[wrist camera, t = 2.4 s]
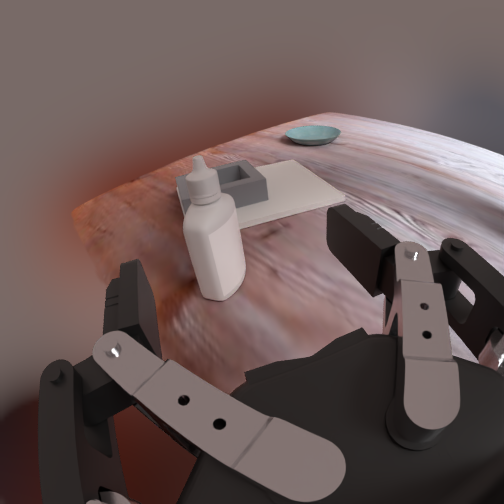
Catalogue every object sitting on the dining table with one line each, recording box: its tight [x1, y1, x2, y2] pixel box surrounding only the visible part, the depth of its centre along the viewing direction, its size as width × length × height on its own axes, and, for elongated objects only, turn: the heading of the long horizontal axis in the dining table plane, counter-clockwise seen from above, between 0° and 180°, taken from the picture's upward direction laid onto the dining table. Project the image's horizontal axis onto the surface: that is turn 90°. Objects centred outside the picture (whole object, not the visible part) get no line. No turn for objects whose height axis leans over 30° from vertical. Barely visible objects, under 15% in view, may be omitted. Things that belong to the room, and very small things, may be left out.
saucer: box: [285, 126, 341, 146], centre depth 60 cm, size 12×12×2 cm
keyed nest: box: [175, 160, 345, 229], centre depth 41 cm, size 20×16×4 cm
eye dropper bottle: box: [183, 155, 246, 301], centre depth 25 cm, size 4×6×12 cm
